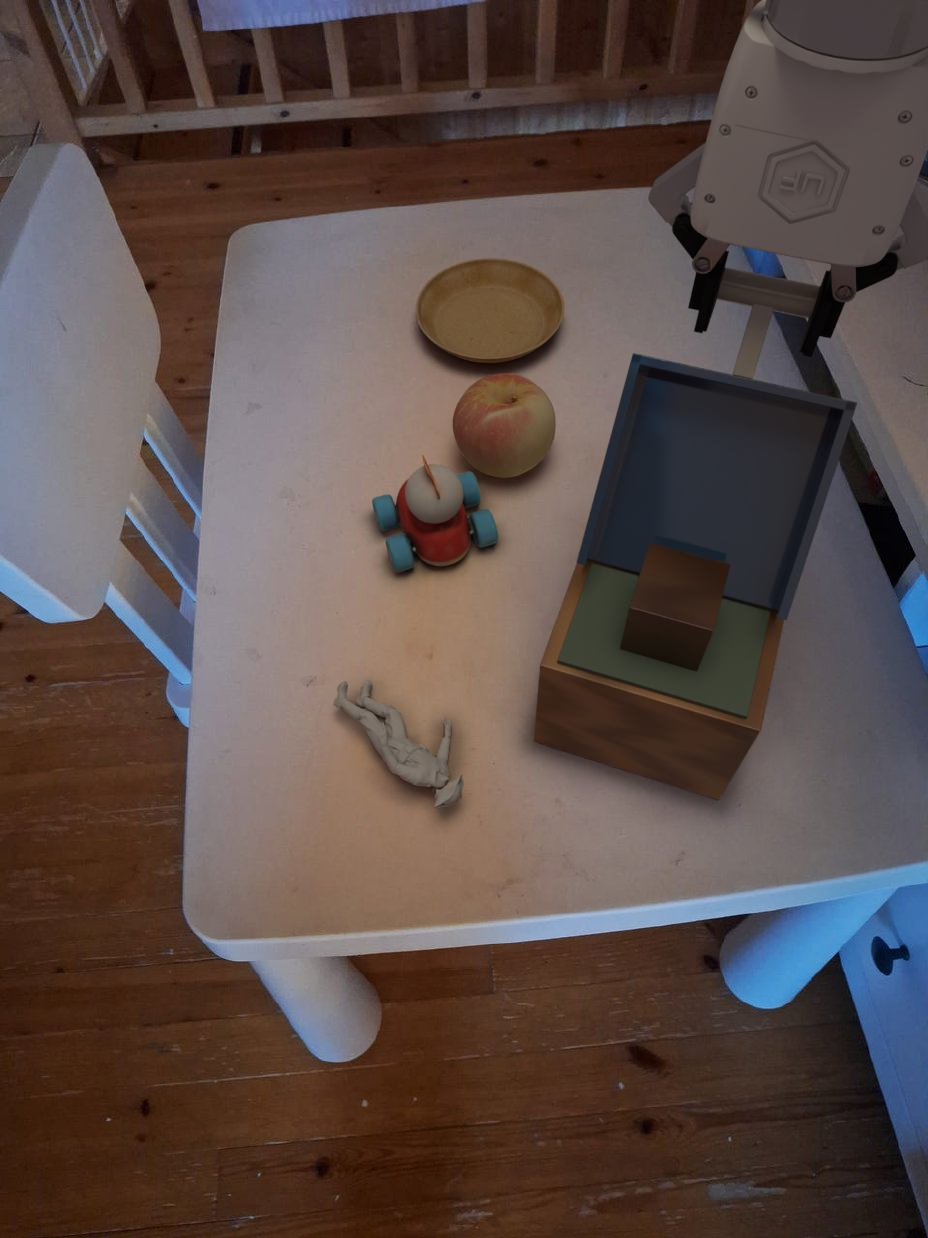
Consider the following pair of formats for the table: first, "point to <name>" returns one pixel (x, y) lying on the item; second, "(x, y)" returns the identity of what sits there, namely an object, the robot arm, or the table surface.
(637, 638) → the block
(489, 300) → the plant saucer
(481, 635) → the table surface
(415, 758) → the soldier figure
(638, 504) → the blue open box
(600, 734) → the stand
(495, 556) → the table surface
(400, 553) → the toy car
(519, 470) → the apple
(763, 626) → the mat
